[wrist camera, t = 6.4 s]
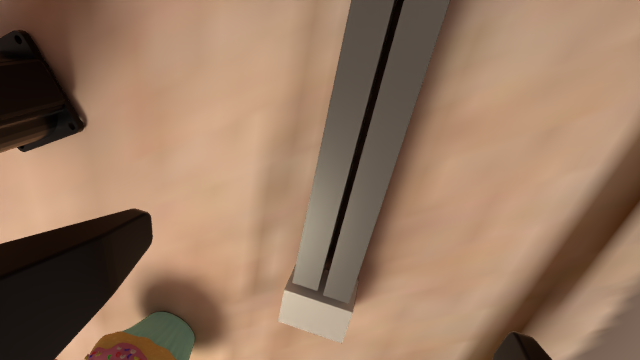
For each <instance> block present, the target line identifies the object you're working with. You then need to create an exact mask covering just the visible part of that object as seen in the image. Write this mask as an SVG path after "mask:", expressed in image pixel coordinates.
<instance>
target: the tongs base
mask: <svg viewBox="0 0 640 360" xmlns="http://www.w3.org/2000/svg"><path fill="white" fill-rule="evenodd" d="M449 2H450V0H404V2H403V6H402V10H401V13H400V17H399V20H398V24H397V28H396V31H395V35H394V39H393V42H392V46H391V50H390V53H389V57H388V61H387V64H386V68H385V71H384V75H383V79H382V82H381V86H380V90H379V93H378V97H377V101H376V104H375V108H374V111H373V115H372V119H371V122H370V126H369V130H368V133H367V137H366V141H365V144H364V148H363V152H362V155H361V159H360V162H359V166H358V170H357V173H356V177H355V181H354V184H353V188H352V192H351V195H350V199H349V202H348V206H347V210H346V213H345V217H344V221H343V224H342V228H341V232H340V235H339V239H338V243H337V246H336V250H335V253H334V257H333V261H332V264H331V268H330V271H328V270H325V269H324V272H323V275H322V278H321V281H320V284H319V287H318V290H317V291H316V290H313V289H310V288H307V287H304V286H301V285H298V284H295V283H292V281H293V276H294V272H295V267H296V265H295V267H294V269H293V272H292V274H291V276H290V278H289V280H288V283H287V285H286V287H285V289H284V293H283V299H282V304H281V309H280V314H279V320H278V322H281V323H284V324H287V325H290V326H293V327H296V328H299V329H301V330H304V331H307V332H310V333H313V334H316V335H319V336H322V337H324V338H327V339H330V340H333V341H336V342H339V343H342V342H343V339H344V336H345V333H346V330H347V328H348V325H349V322H350V319H351V316H352V313H353V309H354V303H355V298H356V293H357V287H358V282H359V280H357V277H358V274H359V271H360V268H361V265H362V262H363V259H364V256H365V253H366V250H367V247H368V244H369V241H370V238H371V235H372V232H373V229H374V226H375V223H376V220H377V217H378V214H379V211H380V208H381V205H382V202H383V199H384V196H385V193H386V190H387V187H388V184H389V181H390V178H391V175H392V172H393V169H394V166H395V164H396V161H397V158H398V155H399V152H400V149H401V146H402V143H403V140H404V137H405V134H406V131H407V128H408V125H409V122H410V119H411V116H412V113H413V110H414V107H415V104H416V101H417V98H418V95H419V92H420V89H421V86H422V83H423V80H424V77H425V74H426V71H427V68H428V65H429V62H430V59H431V56H432V53H433V50H434V47H435V44H436V41H437V38H438V35H439V32H440V29H441V26H442V23H443V20H444V17H445V14H446V11H447V8H448V5H449Z"/></svg>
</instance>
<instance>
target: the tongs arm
mask: <svg viewBox="0 0 640 360" xmlns="http://www.w3.org/2000/svg"><path fill="white" fill-rule="evenodd" d="M396 3H397V0H351V4H350V9H349V14H348V19H347V23H346V28H345V33H344V38H343V42H342V47H341V52H340V57H339V62H338V66H337V71H336V76H335V81H334V85H333V90H332V95H331V100H330V105H329V109H328V114H327V119H326V124H325V128H324V133H323V138H322V143H321V147H320V152H319V157H318V162H317V167H316V171H315V176H314V181H313V186H312V190H311V195H310V200H309V205H308V210H307V214H306V219H305V224H304V229H303V233H302V238H301V243H300V248H299V253H298V257H297V262H296V267H295V272H294V276H293V281H292V283H295V284H298V285H301V286H304V287H307V288H310V289H313V290H316V291H317V290H318V287H319V284H320V281H321V278H322V275H323V272H324V269H325V266H326V263H327V260H328V256H329V252H330V249H331V245H332V241H333V237H334V234H335V230H336V226H337V222H338V219H339V215H340V211H341V208H342V204H343V200H344V196H345V193H346V189H347V185H348V182H349V178H350V174H351V170H352V167H353V163H354V159H355V156H356V152H357V148H358V144H359V141H360V137H361V133H362V130H363V126H364V122H365V118H366V115H367V111H368V107H369V104H370V100H371V96H372V92H373V89H374V85H375V81H376V78H377V74H378V70H379V66H380V63H381V59H382V55H383V51H384V48H385V44H386V40H387V37H388V33H389V29H390V25H391V22H392V18H393V14H394V11H395V7H396Z"/></svg>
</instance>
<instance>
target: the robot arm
mask: <svg viewBox="0 0 640 360" xmlns="http://www.w3.org/2000/svg"><path fill="white" fill-rule="evenodd" d="M83 129H84V126H83V123H82V121H81V120H80V118H79V117H78V115H77V113H76V112H75V110H74V108H73V107H72V105H71V103H70V102H69V100H68V98H67V97H66V95H65V93H64V92H63V90H62V88H61V87H60V85H59V84H58V82H57V80H56V79H55V77H54V75H53V74H52V72H51V70H50V69H49V67H48V65H47V64H46V62H45V60H44V59H43V57H42V55H41V54H40V52H39V50H38V49H37V47H36V46H35V44H34V42H33V41H32V39H31V37H30V36H29V35H28V33H26V32H25V31H22V30H18V31H12V32H10V33H9V34H7V35H5V36H3V37H2V38H0V153H1V152H4V151H7V150H10V149H13V148H16V147H17V148H18V149H19V150H20V151H22V152H26V151H29V150H32V149H35V148H37V147H40V146H43V145H46V144H48V143H51V142H54V141H57V140H59V139H62V138H65V137H68V136H70V135H73V134H76V133H79V132H81V131H83ZM152 239H153V235H152V221H151V216H150V214H149V213H148V212H145V211H142V210H139V209H129V210H125V211H122V212H118V213H114V214H110V215H107V216H103V217H99V218H96V219H92V220H88V221H84V222H81V223H77V224H73V225H69V226H66V227H62V228H58V229H54V230H51V231H47V232H43V233H39V234H36V235H32V236H28V237H24V238H21V239H17V240H13V241H10V242H6V243H2V244H0V360H54V359H55V358H56V357H57V356H58V355H59V354H60V353H61V352H62V350H63V349H64V348H65V347H66V346H67V345H68V344H69V343H70V342H71V341H72V339H73V338H74V337H75V336H76V335H77V334H78V333H79V332H80V331H81V330H82V329H83V327H84V326H85V325H86V324H87V323H88V322H89V321H90V320H91V319H92V318H93V317H94V315H95V314H96V313H97V312H98V311H99V310H100V309H101V308H102V307H103V306H104V305H105V303H106V302H107V301H108V300H109V299H110V298H111V297H112V295H113V294H114V293H115V292H116V290H117V289H118V288H119V287H120V285H121V284H122V283H123V281H124V280H125V279H126V277H127V276H128V275H129V273H130V272H131V271H132V269H133V268H134V267H135V265H136V264H137V263H138V261H139V260H140V259H141V257H142V256H143V255H144V253H145V252H146V251H147V249H148V248H149V247H150V245H151V243H152ZM493 360H552V359H551V358H550V357H549V355H548V354H547V353H546V352H545V351H544V350H543V349H542V347H541V346H540V345H539V344H538V343H537V342H536V341H535V340H534V339H533V338H532V337H530V336H528V335H525V334H522V333H518V332H515V331H512V332H510V333H509V334H508V335H507V336H506V338H505V339H504V340H503V342H502V343H501V344H500V346H499V347H498V349H497V350H496V351H495V353H494V356H493Z"/></svg>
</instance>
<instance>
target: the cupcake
mask: <svg viewBox="0 0 640 360" xmlns="http://www.w3.org/2000/svg"><path fill="white" fill-rule="evenodd" d="M194 342H195V337H194V333H193V331H192V329H191V328H190V327H189V325H188V324H187V323H186V322H184V321H183V320H182V319H181V318H179V317H177V316H175V315H173V314H171V313H167V312H155V313H152V314H151V315H149V316H148V317H146V318H145V319H143V320H142V321H140V322H139V323H137V324H136V325H134V326H132V327H131V328H129V329H126V330H124V331H121V332H116V333H112V334H108V335H105V336H103V337H102V338H101V339H100V340H99V341H98V342H97V343H96V345H95V346H94V348H93V350H92V351H91V353H90V355H89V354H88V355H87V356H86V357H85V358H84V359H85V360H189V358H190V354H191V351H192V348H193V345H194Z"/></svg>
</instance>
